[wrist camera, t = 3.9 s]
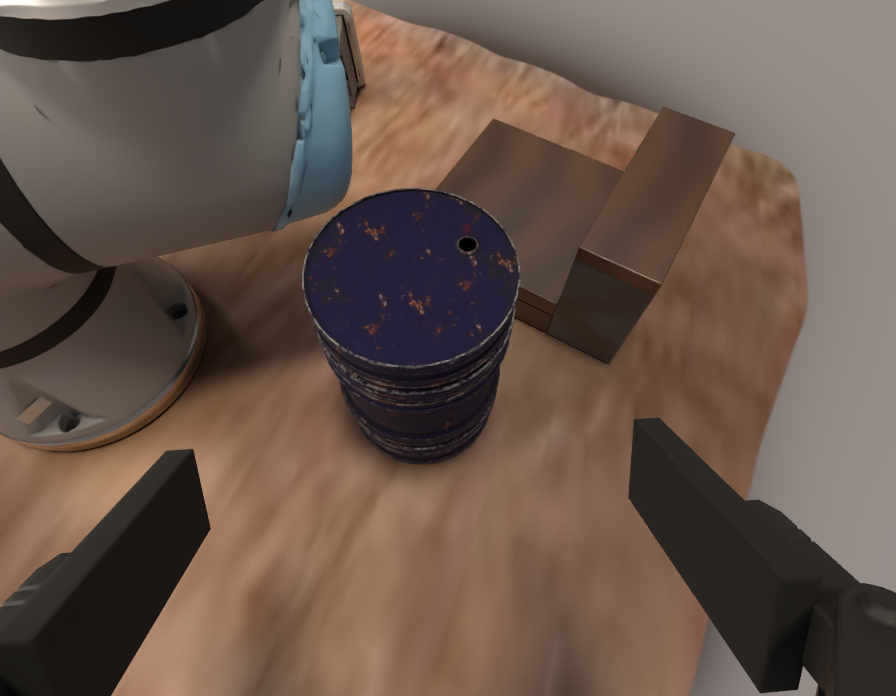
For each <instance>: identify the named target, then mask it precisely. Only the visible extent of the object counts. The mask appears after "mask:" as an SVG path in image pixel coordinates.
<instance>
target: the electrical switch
mask: <svg viewBox="0 0 896 696" xmlns="http://www.w3.org/2000/svg"><path fill="white" fill-rule="evenodd" d="M332 2H333V6H334V11H335V16H336V20H337V26H338V36H339V45H340V59H341V62H342V64H343V67H344V69H345V75H346V82H347V89H348V97H349V106H350V107H355V96H356V93H357V87H362V85H363V84H364V83H365V74H364V69H363V64H362V59H361V54H360V49H359V44H358V40H357V35H356V30H355V25H354V20H353V15H352V10H351V6H350V5H348V4H347V3H346V2H345V1H332Z"/></svg>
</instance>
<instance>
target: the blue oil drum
mask: <svg viewBox="0 0 896 696" xmlns="http://www.w3.org/2000/svg"><path fill="white" fill-rule="evenodd" d="M519 285H520V265H519V260H518V256H517V252H516V250H515V247H514V245H513V242H512V240H511V239H510V237H509V235H508V234H507V232H506V231H505V229H504V228H503V227H502V226H501V225H500V223H499V222H498V221H497V220H496V219H495V218H494V217H493V216H492V215H490V214H489V213H488V212H487V211H485V210H484V209H483V208H481V207H480V206H478V205H476V204H475V203H473V202H471V201H469V200H467V199H465V198H462V197H460V196H458V195H455V194H451V193H448V192H444V191H439V190H433V189H427V188H403V189H394V190H388V191H383V192H379V193H376V194H373V195H370V196H367V197H364V198H362V199H360V200H358V201H356V202H354V203H352V204H350V205H349V206H347V207H345V208H344V209H342V210H341V211H339V212H338V213H337V214H336V215H335V216H333V217H332V218H331V219H330V220H329V221H328V222H327V223H326V224H325V225H324V226H323V227H322V228H321V230H320V231H319V232H318V233H317V235H316V237H315V238H314V240H313V241H312V243H311V245H310V247H309V250H308V252H307V254H306V257H305V261H304V266H303V271H302V288H303V294H304V299H305V302H306V305H307V307H308V310H309V313H310V315H311V317H312V320H313V322H314V326H315V331H316V334H317V336H318V339H319V341H320V344H321V346H322V349H323V351H324V353H325V356H326V358H327V361H328V363H329V365H330V367H331V368H332V370H333V372H334V373H335V375H336V376H337V377H338V378H339V380H340V384H341V390H342V394H343V397H344V399H345V402H346V404H347V406H348V407H349V409H350V411H351V413H352V415H353V417H354V419H355V420H356V422H357V424H358V425H359V427H360V429H361V430H362V432H363V433H364V435H365V437H366V438H367V439H368V440H369V441H370V442H371V444H372V445H373V446H375V447H376V448H377V449H378V450H380V451H381V452H382V453H384V454H386V455H388V456H389V457H392V458H394V459H397V460H399V461H403V462H408V463H415V464H427V463H436V462H439V461H443V460H446V459H449V458H451V457H453V456H455V455H457V454H459V453H460V452H462V451H463V450H465V449H466V448H467V447H468V446H470V445H471V444H472V443H473V442H474V441H475V440H476V438H477V437H478V436H479V435H480V433H481V432H482V430H483V428H484V426H485V424H486V422H487V419H488V416H489V413H490V411H491V409H492V406H493V403H494V400H495V396H496V391H497V386H498V381H499V376H500V364H501V362H502V360H503V359H504V356H505V353H506V351H507V348H508V344H509V338H510V335H511V331H512V327H513V322H514V316H515V305H516V301H517V297H518V291H519Z"/></svg>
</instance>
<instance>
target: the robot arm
mask: <svg viewBox="0 0 896 696" xmlns="http://www.w3.org/2000/svg"><path fill="white" fill-rule="evenodd" d="M351 173H352V129H351V117H350V106H349V97H348V89H347V82H346V75H345V69H344V67H343V64H342V62H341V59H340V45H339V36H338V26H337V20H336V16H335V11H334V6H333V2H332V0H0V434H1V435H3V436H6V437H8V438H10V439H13V440H15V441H18V442H20V443H23V444H25V445H28V446H31V447H34V448H38V449H43V450H50V451H76V450H84V449H89V448H94V447H98V446H101V445H105V444H108V443H110V442H113V441H116V440H118V439H120V438H123V437H125V436H127V435H129V434H131V433H133V432H135V431H136V430H138V429H140V428H142V427H143V426H145V425H146V424H148V423H149V422H151V421H152V420H153V419H155V418H156V417H157V416H159V415H160V414H161V413H162V412H163V411H164V410H165V409H167V408H168V407H169V406H170V405H171V404H172V403H173V402H174V401H175V400H176V399H177V397H178V396H179V395H180V394H181V393H182V391H183V390H184V389H185V387H186V386H187V384H188V383H189V382H190V380H191V378H192V377H193V375H194V373H195V371H196V369H197V367H198V365H199V363H200V360H201V357H202V354H203V351H204V347H205V342H206V329H207V326H206V317H205V313H204V309H203V306H202V304H201V301H200V299H199V298H198V296H197V294H196V293H195V291H194V290H193V289H192V287H191V286H190V285H189V283H188V282H187V281H186V280H185V278H184V277H183V276H182V275H181V274H180V272H179V271H178V270H177V269H175V268H174V267H173V266H172V265H170V264H169V263H167V262H166V261H164V260H162V259H161V258H159V257H157V256H160V255H164V254H169V253H173V252H177V251H182V250H186V249H190V248H195V247H199V246H203V245H208V244H212V243H216V242H221V241H225V240H229V239H234V238H238V237H242V236H247V235H251V234H255V233H260V232H264V231H269V230H271V231H272V232H274V231H278V230H279V229H283V228H284V227H285V226H286V225H287V224H289V223H292V222H295V221H299V220H302V219H305V218H309V217H312V216H316V215H319V214H322V213H326V212H328V211H330V210H331V209H332V208H334V207H336V206H337V204H338V203H339V202H341V201H342V200H343V198H344V197H345V195H346V193H347V191H348V188H349V185H350V180H351ZM628 498H629V499H630V501H631V502H632V504H633V505H634V507H635V508H636V510H637V511H638V513H639V514H640V516H641V517H642V519H643V520H644V522H645V523H646V525H647V526H648V528H649V529H650V531H651V532H652V534H653V535H654V537H655V538H656V539H657V541H658V542H659V544H660V545H661V547H662V548H663V550H664V551H665V553H666V554H667V556H668V557H669V559H670V560H671V562H672V563H673V565H674V566H675V568H676V569H677V571H678V572H679V574H680V575H681V577H682V578H683V580H684V581H685V582H686V584H687V585H688V587H689V588H690V590H691V591H692V593H693V594H694V596H695V597H696V599H697V600H698V602H699V603H700V605H701V606H702V608H703V609H704V611H705V612H706V614H707V615H708V617H709V618H710V620H711V621H712V623H713V624H714V625H715V627H716V628H717V630H718V631H719V633H720V634H721V636H722V637H723V639H724V640H725V642H726V643H727V645H728V646H729V648H730V649H731V651H732V652H733V654H734V655H735V657H736V658H737V660H738V661H739V662H740V664H741V666H742V667H743V668H744V670H745V671H746V673H747V674H748V676H749V677H750V679H751V680H752V682H753V683H754V685H755V686H756V688H757V689H758V691H759V692H760V693H767V692H778V691H789V690H798V686H799V682H800V677H801V673H802V668H803V666H804V667H805V668H806V670H807V671H808V672H809V674H810V675H811V676H812V677H813V679H814V680H815V681H816V682H817V683H818V687H817V691H816V696H896V593H895V592H893V591H890V590H888V589H885V588H883V587H879V586H875V585H871V584H866V583H859V582H858V581H857V580H856V579H855V578H854V577H853V576H852V575H851V574H849V573H848V572H847V571H846V570H845V569H844V568H843V567H842V566H841V565H839V564H838V563H837V562H836V561H835V560H834V559H833V558H832V557H830V556H829V555H828V554H827V553H826V552H825V551H824V550H823V549H821V547H819V546H818V545H817V544H816V543H815V542H811V540H810V539H811V538H809V537H808V536H807V535H806V534H805V533H804V532H803V531H802V530H800V529H798V528H797V526H796V525H795V524H794V523H793V522H792V521H790V520H789V519H788V518H787V517H786V516H785V515H784V514H783V513H782V512H780V511H779V510H776V509H775V508H773V507H771V506H769V505H767V504H766V503H764V502H761V501H760V500H750V501H745V500H744V499H742V498H741V497H740V496H739V495H738V494H737V493H736V492H735V491H734V490H733V489H732V488H731V487H730V486H729V485H728V484H727V483H726V482H725V481H724V480H723V479H722V478H721V477H720V476H719V475H718V474H717V473H716V472H715V471H713V470H712V469H711V468H710V467H709V466H708V465H707V464H706V463H705V462H704V461H703V460H702V459H701V458H700V457H699V456H698V455H697V454H696V453H695V452H694V451H693V450H692V449H691V448H690V447H689V446H688V445H687V444H686V443H684V442H683V441H682V440H681V439H680V438H679V437H678V436H677V435H676V434H675V433H674V432H673V431H672V430H671V429H670V428H669V427H668V426H667V425H666V424H665V423H664V422H663V421H662V420H661V419H660V418H648V419H634V428H633V441H632V455H631V469H630V483H629V497H628ZM210 529H211V528H210V524H209V519H208V514H207V510H206V505H205V501H204V496H203V492H202V487H201V483H200V478H199V473H198V469H197V464H196V460H195V455H194V451H193V449H186V450H172V451H166V452H165V453H164V454H163V455H162V456H161V457H160V458H159V459H158V460H157V461H156V463H155V464H154V465H153V466H152V467H151V468H150V469H149V470H148V471H147V472H146V473H145V474H144V475H143V476H142V477H141V479H140V480H139V481H138V482H137V483H136V484H135V485H134V486H133V487H132V488H131V489H130V490H129V491H128V492H127V493H126V495H125V496H124V497H123V498H122V499H121V500H120V501H119V502H118V503H117V504H116V505H115V506H114V507H113V508H112V510H111V511H110V512H109V513H108V514H107V515H106V516H105V517H104V518H103V519H102V520H101V521H100V522H99V523H98V524H97V526H96V527H95V528H94V529H93V530H92V531H91V532H90V533H89V534H88V535H87V536H86V537H85V538H84V539H83V540H82V542H81V543H80V544H79V545H78V546H77V547H76V548H75V549H74V550H73V551H72V552H71V553H61V554H59V555H58V556H56V557H55V558H53V559H52V560H50V561H49V562H47V563H46V564H44V565H43V566H41V567H40V568H38V569H37V570H36V571H35V572H34V573H33V574H32V575H31V576H30V577H29V578H28V579H27V580H26V581H25V582H24V583H23V584H22V585H21V586H20V587H19V588H18V591H17V592H14V593H13V594H12V595H11V596H10V597H9V598H8V599H7V600H6V601H5V602H4V605H3V607H0V696H111V695H112V693H113V691H114V690H115V688H116V686H117V685H118V683H119V681H120V680H121V678H122V676H123V675H124V673H125V671H126V670H127V668H128V666H129V665H130V663H131V661H132V660H133V658H134V656H135V654H136V653H137V651H138V649H139V648H140V646H141V644H142V643H143V641H144V639H145V638H146V636H147V634H148V633H149V631H150V629H151V628H152V626H153V624H154V623H155V621H156V619H157V618H158V616H159V614H160V613H161V611H162V609H163V608H164V606H165V604H166V603H167V601H168V599H169V598H170V596H171V594H172V592H173V591H174V589H175V587H176V586H177V584H178V582H179V581H180V579H181V577H182V576H183V574H184V572H185V571H186V569H187V567H188V566H189V564H190V562H191V561H192V559H193V557H194V556H195V554H196V552H197V551H198V549H199V547H200V546H201V544H202V542H203V541H204V539H205V537H206V536H207V534H208V532H209V531H210Z"/></svg>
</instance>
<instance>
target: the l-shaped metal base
mask: <svg viewBox="0 0 896 696" xmlns="http://www.w3.org/2000/svg"><path fill="white" fill-rule="evenodd" d="M734 136H735V133H733V132H731V131H728V130H725V129H723V128H720V127H717V126H714V125H712V124H709V123H706V122H704V121H701V120H698V119H695V118H693V117H690V116H687V115H685V114H682V113H679V112H677V111H674V110H671V109H668V108H666V107H663V108H662V109H661V111H660V113H659V114H658V116H657V118H656V119H655V121H654V123H653V124H652V126H651V128H650V129H649V131H648V133H647V134H646V136H645V138H644V139H643V141H642V143H641V144H640V146H639V148H638V149H637V151H636V153H635V154H634V156H633V158H632V159H631V161H630V163H629V164H628V166H627V168H626V169H625V171H621V170H619V169H616V168H614V167H611V166H609V165H606V164H604V163H601V162H599V161H597V160H594V159H592V158H589V157H587V156H584V155H582V154H579V153H577V152H574V151H572V150H570V149H567V148H565V147H562V146H560V145H557V144H555V143H552V142H550V141H548V140H545V139H543V138H540V137H538V136H535V135H533V134H530V133H528V132H525V131H523V130H521V129H518V128H516V127H513V126H511V125H508V124H506V123H503V122H501V121H498V120H496V119H493V120H492V121H491V122H490V123H489V125H488V126H487V127H486V128H485V129H484V131H483V132H482V133H481V134H480V136H479V137H478V138H477V139H476V140H475V142H474V143H473V144H472V145H471V147H470V148H469V149H468V150H467V152H466V153H465V154H464V155H463V156H462V158H461V159H460V160H459V161H458V163H457V164H456V165H455V166H454V167H453V169H452V170H451V171H450V172H449V174H448V175H447V176H446V177H445V179H444V180H443V181H442V182H441V183H440V185H439V186H438V187H437V188H436V190H439V191H444V192H448V193H451V194H455V195H458V196H460V197H462V198H465V199H467V200H469V201H471V202H473V203H475V204H476V205H478V206H480V207H481V208H483V209H484V210H485V211H487V212H488V213H489V214H490V215H492V216H493V217H494V218H495V219H496V220H497V221H498V222H499V223H500V225H501V226H502V227H503V228H504V229H505V231H506V232H507V234H508V235H509V237H510V239H511V240H512V242H513V245H514V247H515V250H516V252H517V256H518V260H519V265H520V285H519V291H518V297H517V301H516V305H515V316H514V317H516V318H518V319H520V320H522V321H524V322H526V323H528V324H530V325H532V326H534V327H536V328H538V329H540V330H542V331H544V332H547V333H548V334H550V335H552V336H554V337H556V338H558V339H560V340H562V341H564V342H566V343H568V344H570V345H572V346H574V347H576V348H578V349H580V350H582V351H584V352H586V353H588V354H590V355H592V356H594V357H596V358H598V359H600V360H602V361H604V362H606V363H608V364H609V363H610V362H611V360H612V359H613V357H614V356H615V354H616V353H617V351H618V350H619V348H620V347H621V345H622V344H623V342H624V341H625V339H626V338H627V336H628V335H629V333H630V332H631V330H632V329H633V327H634V326H635V324H636V323H637V321H638V320H639V318H640V317H641V315H642V314H643V312H644V311H645V309H646V308H647V306H648V305H649V303H650V302H651V300H652V299H653V297H654V296H655V294H656V293H657V291H658V290H659V288H660V287H661V285H662V284H663V282H664V280H665V277H666V275H667V273H668V271H669V269H670V267H671V265H672V263H673V261H674V259H675V257H676V255H677V253H678V251H679V249H680V247H681V245H682V243H683V240H684V238H685V236H686V234H687V232H688V230H689V228H690V226H691V224H692V222H693V220H694V218H695V216H696V214H697V212H698V210H699V208H700V206H701V203H702V201H703V199H704V197H705V195H706V193H707V191H708V189H709V187H710V185H711V183H712V181H713V179H714V177H715V175H716V173H717V171H718V169H719V167H720V164H721V162H722V160H723V158H724V156H725V154H726V152H727V150H728V148H729V146H730V144H731V142H732V139H733V138H734Z"/></svg>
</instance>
